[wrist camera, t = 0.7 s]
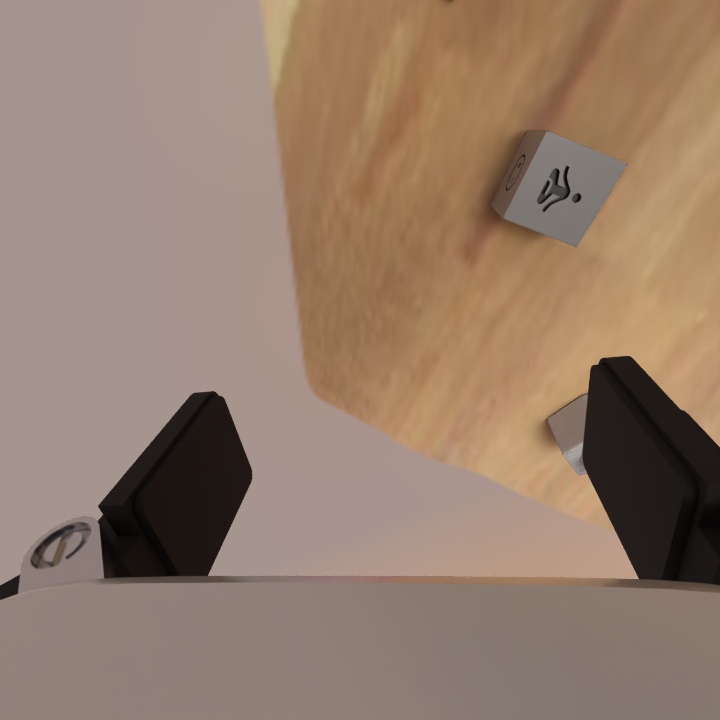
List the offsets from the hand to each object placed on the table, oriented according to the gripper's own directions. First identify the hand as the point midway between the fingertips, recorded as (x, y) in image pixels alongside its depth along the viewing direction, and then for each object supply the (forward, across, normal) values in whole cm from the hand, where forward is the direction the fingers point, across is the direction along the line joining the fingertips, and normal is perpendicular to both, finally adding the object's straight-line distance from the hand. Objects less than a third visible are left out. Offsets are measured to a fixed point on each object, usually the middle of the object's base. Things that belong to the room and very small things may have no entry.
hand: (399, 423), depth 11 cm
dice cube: (+24, -9, -2) cm, 26 cm away
